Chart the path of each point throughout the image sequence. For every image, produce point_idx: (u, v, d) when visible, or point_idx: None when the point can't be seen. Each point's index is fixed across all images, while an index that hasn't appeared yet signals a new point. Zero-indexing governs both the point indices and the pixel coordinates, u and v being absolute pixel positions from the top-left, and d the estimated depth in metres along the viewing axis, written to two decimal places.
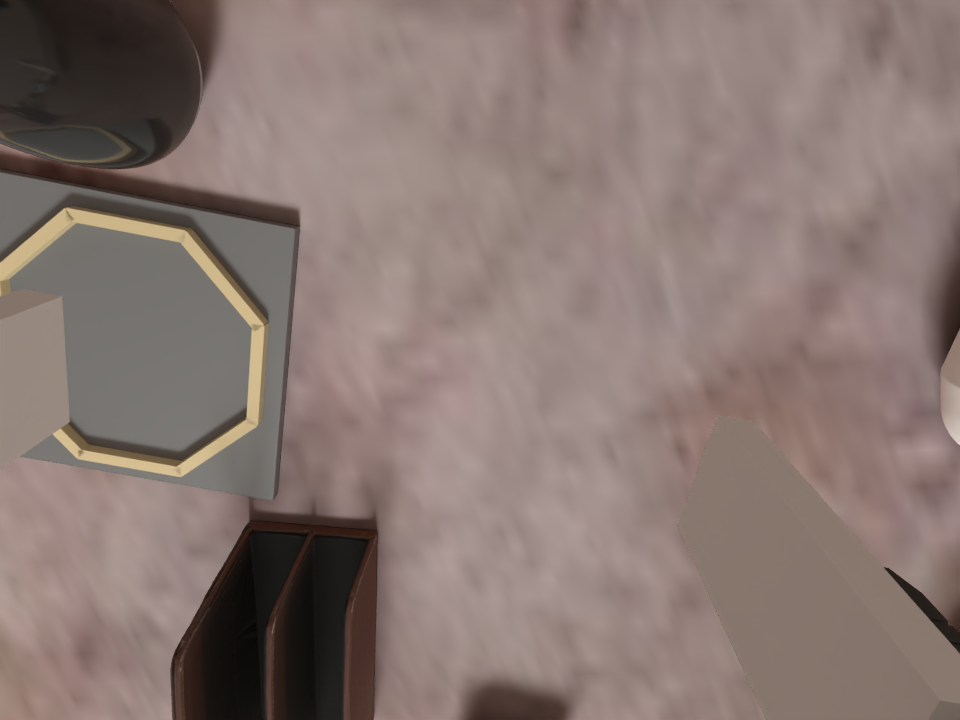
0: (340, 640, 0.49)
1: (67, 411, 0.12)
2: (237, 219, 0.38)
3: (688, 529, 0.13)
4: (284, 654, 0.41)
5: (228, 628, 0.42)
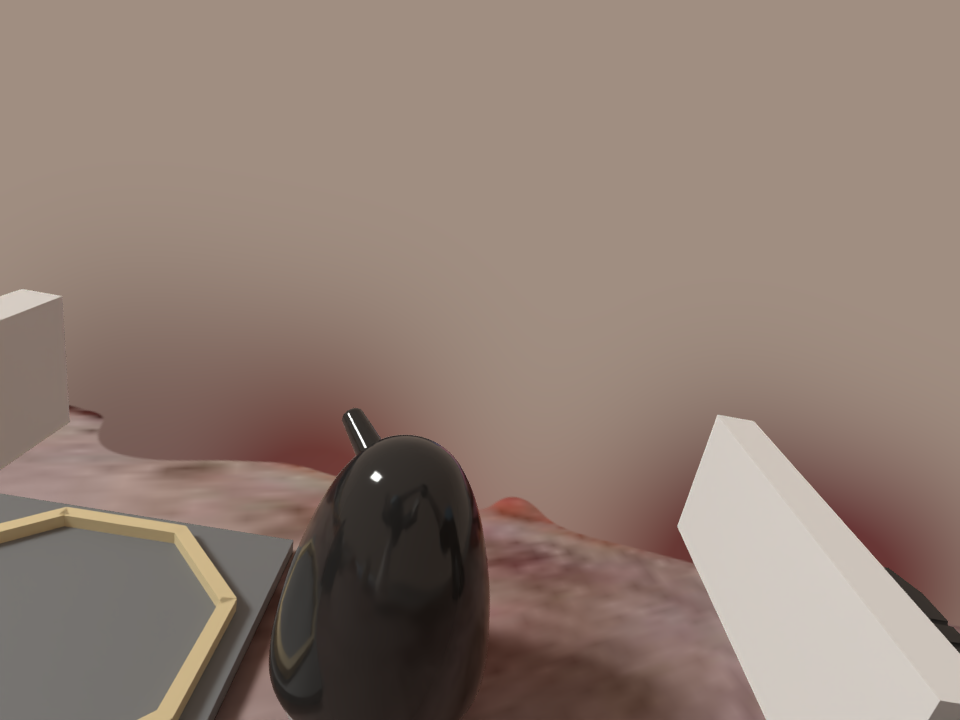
0: None
1: (68, 411, 0.12)
2: None
3: (688, 529, 0.13)
4: None
5: None
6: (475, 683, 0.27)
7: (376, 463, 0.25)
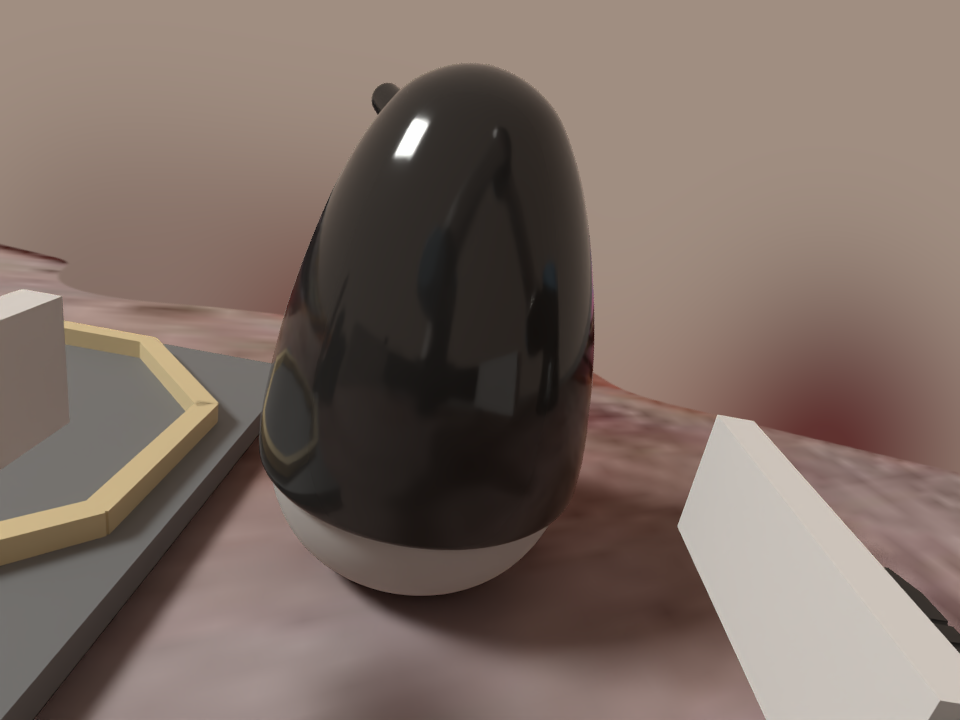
0: None
1: (68, 411, 0.12)
2: (86, 613, 0.15)
3: (688, 529, 0.13)
4: None
5: None
6: (574, 469, 0.18)
7: (434, 74, 0.15)
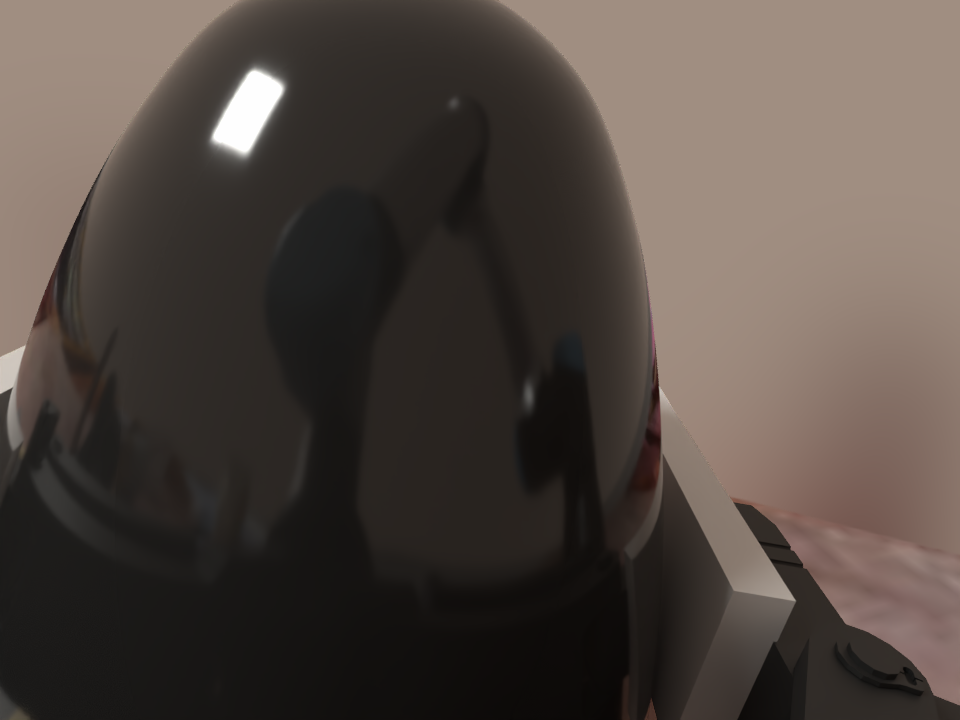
0: None
1: None
2: None
3: None
4: None
5: None
6: None
7: None
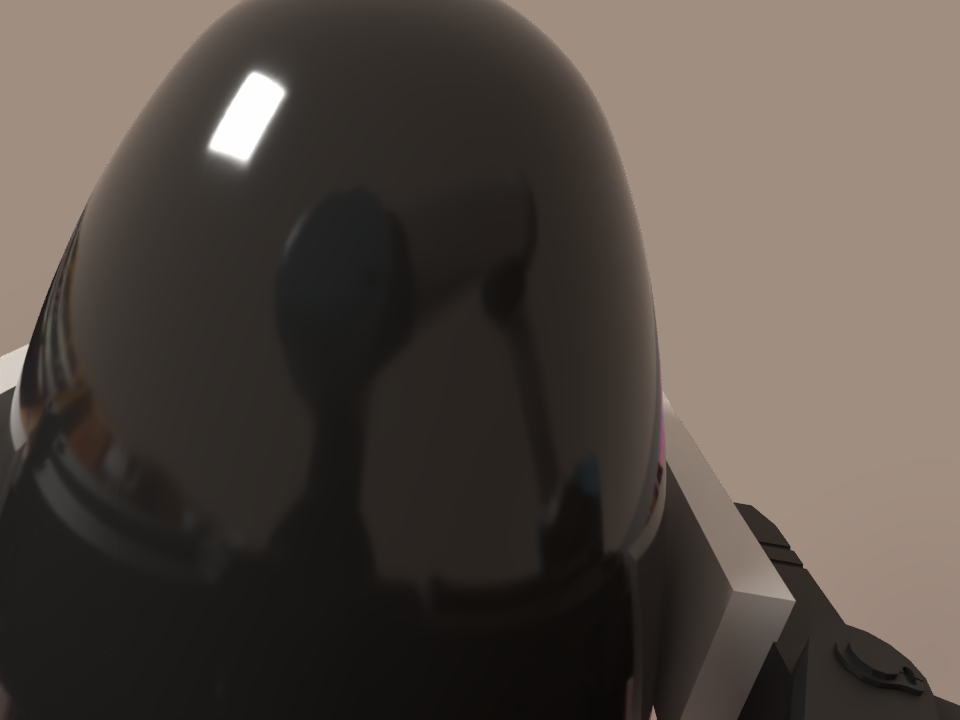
0: None
1: None
2: None
3: None
4: None
5: None
6: None
7: None
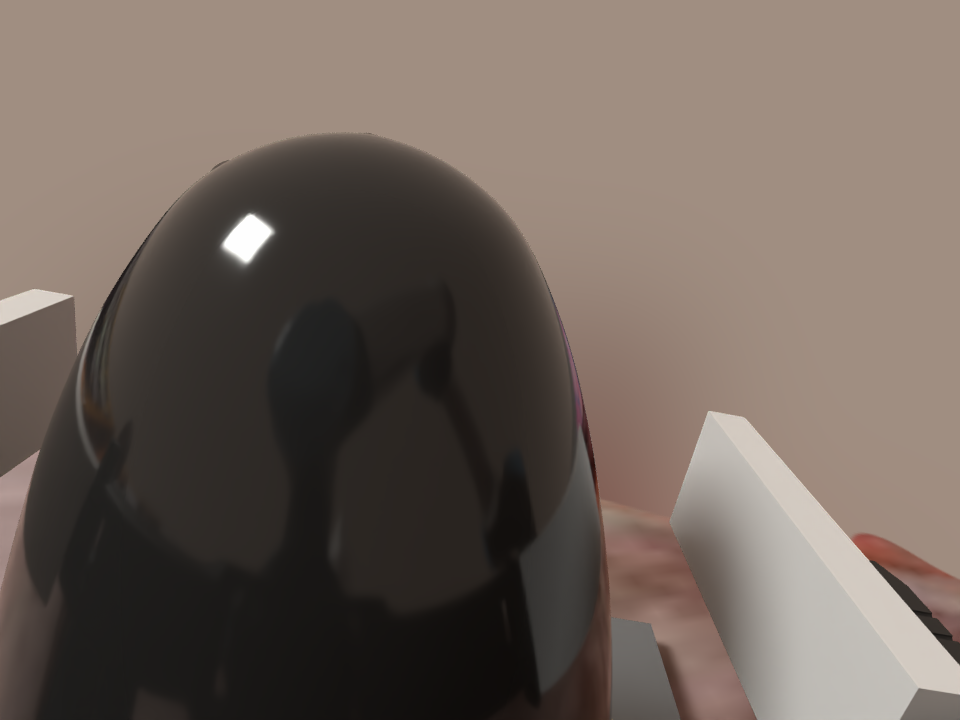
0: None
1: None
2: None
3: (680, 524, 0.13)
4: None
5: None
6: None
7: (238, 164, 0.07)
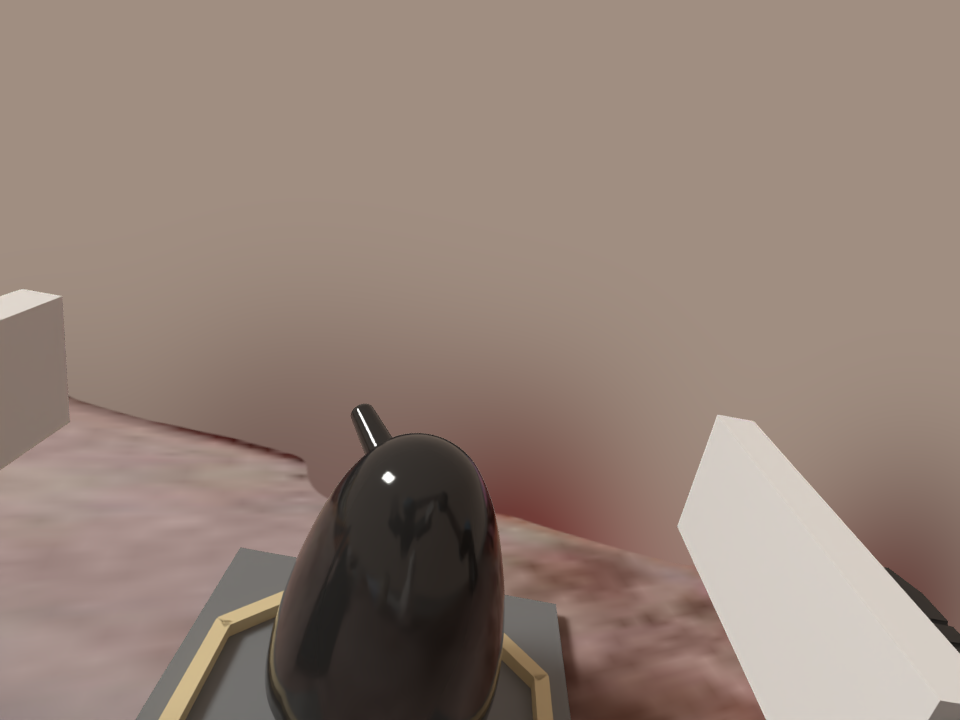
0: None
1: (67, 411, 0.12)
2: None
3: (688, 529, 0.13)
4: None
5: None
6: (487, 704, 0.25)
7: (388, 462, 0.23)
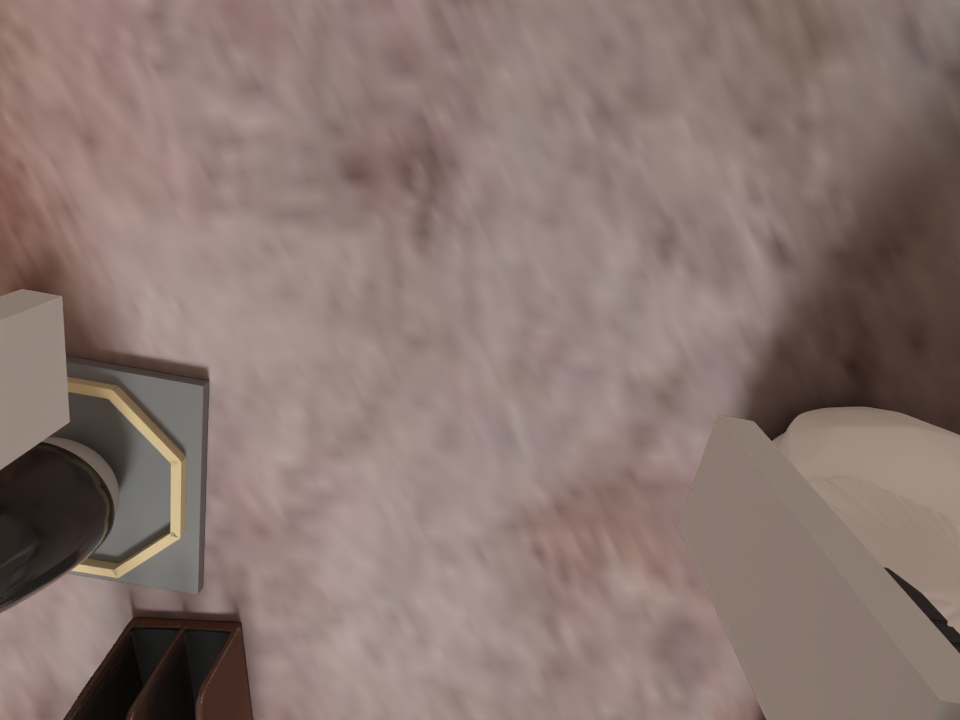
0: None
1: (67, 412, 0.12)
2: (155, 378, 0.46)
3: (688, 529, 0.13)
4: None
5: (107, 715, 0.51)
6: (61, 464, 0.43)
7: None
